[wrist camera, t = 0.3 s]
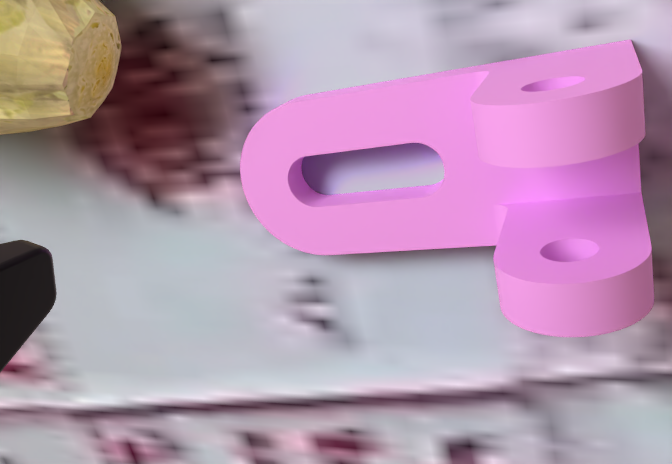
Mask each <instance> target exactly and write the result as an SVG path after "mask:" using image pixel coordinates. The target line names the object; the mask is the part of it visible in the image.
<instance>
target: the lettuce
mask: <svg viewBox="0 0 672 464" xmlns="http://www.w3.org/2000/svg"><path fill="white" fill-rule="evenodd" d="M121 48H122V46H121V40H120V35H119V30H118V26H117V21H116V17H115V15H113V14H112V13H111V12H110V11H109V10H108V9H107V8H106V7H105V6H104V5H103V4H102V3H101V2H100V1H99V0H0V135H2V134H12V133H22V132H31V131H36V130H42V129H47V128H53V127H58V126H63V125H67V124H70V123H74V122H77V121H81V120H84V119H88V118H91V117H92V115H93V114H94V113H95V112H96V110H97V109H98V108H99V107H100V105H101V104H102V103H103V101H104V100H105V98H106V97H107V95H108V94H109V92H110V91H111V89H112V88H113V84H114V80H115V77H116V73H117V69H118V64H119V59H120V53H121Z"/></svg>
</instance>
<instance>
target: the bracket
mask: <svg viewBox="0 0 672 464" xmlns="http://www.w3.org/2000/svg"><path fill="white" fill-rule="evenodd" d="M645 135H646V134H645V114H644V96H643V77H642V68H641V66H640V63H639V60H638V58H637V55H636V52H635V50H634V47H633V44H632V42H631V40H625V41H619V42H613V43H607V44H601V45H596V46H590V47H584V48H578V49H572V50H566V51H561V52H555V53H549V54H543V55H537V56H531V57H525V58H520V59H514V60H508V61H502V62H496V63H490V64H485V65H479V66H473V67H467V68H461V69H455V70H449V71H444V72H438V73H432V74H426V75H420V76H414V77H408V78H403V79H397V80H391V81H385V82H379V83H373V84H368V85H362V86H356V87H350V88H344V89H338V90H332V91H327V92H321V93H315V94H309V95H304V96H300V97H297V98H295V99H292V100H290V101H288V102H286V103H284V104H282V105H281V106H279V107H277V108H275V109H273V110H271V111H270V112H268V113H267V114H265V115H264V116H263V117H262V118H261V119H260V120H259V121H258V122H257V123H256V124H255V125H254V126H253V128H252V129H251V131H250V132H249V134H248V136H247V138H246V141H245V143H244V146H243V150H242V154H241V161H240V173H241V181H242V186H243V190H244V193H245V196H246V199H247V201H248V203H249V205H250V207H251V209H252V211H253V213H254V214H255V216H256V217H257V218H258V220H259V221H260V222H261V224H262V225H263V226H264V227H265V228H266V229H267V230H268V231H269V232H270V233H271V234H272V235H274V236H275V237H276V238H277V239H279V240H280V241H282V242H283V243H285V244H287V245H289V246H290V247H292V248H295V249H297V250H300V251H303V252H306V253H311V254H317V255H339V254H356V253H373V252H390V251H408V250H425V249H442V248H459V247H477V246H494V245H497V246H496V249H495V252H494V256H493V258H494V266H495V273H496V280H497V287H498V294H499V300H500V307H501V311H502V313H503V314H504V316H505V317H506V318H507V319H508V320H509V321H510V322H512V323H513V324H515V325H517V326H518V327H520V328H523V329H525V330H528V331H531V332H534V333H539V334H543V335H549V336H558V337H586V336H595V335H601V334H606V333H610V332H614V331H618V330H621V329H623V328H626V327H628V326H631V325H633V324H635V323H636V322H638V321H640V320H641V319H642V318H644V317H645V316H646V315H647V314H648V313H649V312H650V310H651V309H652V307H653V305H654V284H653V265H652V247H651V240H650V235H649V230H648V225H647V219H646V214H645V209H644V204H643V198H642V193H641V176H640V159H639V142H641V141H642V140H643V139H644V137H645ZM406 143H422V144H425V145H427V146H429V147H431V148H432V149H434V150H435V151H436V152H437V153H438V154H439V156H440V157H441V159H442V161H443V164H444V169H445V175H444V179H443V180H442V181H440V182H438V183H436V184H433V185H426V186H416V187H406V188H396V189H386V190H376V191H366V192H356V193H346V194H336V195H323V194H320V193H317V192H316V191H314V190H313V189H311V188H310V187H309V186H308V184H307V183H306V182H305V180H304V178H303V175H302V169H301V166H302V160H303V158H304V157H305V156H312V155H320V154H328V153H336V152H343V151H351V150H359V149H367V148H375V147H382V146H390V145H398V144H406Z"/></svg>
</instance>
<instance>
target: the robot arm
mask: <svg viewBox="0 0 672 464" xmlns="http://www.w3.org/2000/svg"><path fill="white" fill-rule="evenodd" d="M55 300H56V284H55V276H54V268H53V259H52V255H51V253H50V252H49V250H48V249H46V248H45V247H42V246H40V245H37V244H34V243H32V242H29V241H25V240H17V241H12V242H8V243H3V244H0V372H1V371H2V370H3V368H4V367H5V366H6V365H7V364H8V362H9V361H10V360H11V359H12V357H13V356H14V355H15V354H16V352H17V351H18V350H19V349H20V348H21V346H22V345H23V344H24V343H25V341H26V340H27V339H28V338H29V336H30V335H31V334H32V333H33V332H34V330H35V329H36V328H37V327H38V325H39V324H40V323H41V322H42V321H43V319H44V318H45V317H46V316H47V314H48V313H49V312H50V310H51V309H52V307H53V305H54V303H55Z"/></svg>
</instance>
